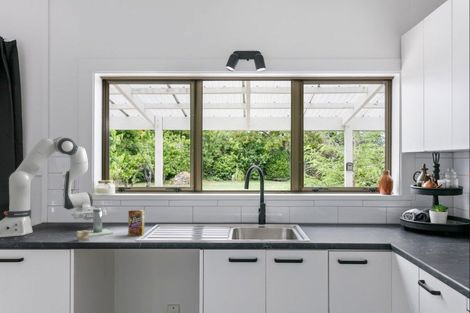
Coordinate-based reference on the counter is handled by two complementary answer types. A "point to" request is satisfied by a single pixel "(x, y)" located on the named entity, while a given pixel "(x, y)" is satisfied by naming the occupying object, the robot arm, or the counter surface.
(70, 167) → the robot arm
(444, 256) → the counter surface
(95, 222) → the tin
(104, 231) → the pad
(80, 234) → the maple cube
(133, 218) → the candy box
